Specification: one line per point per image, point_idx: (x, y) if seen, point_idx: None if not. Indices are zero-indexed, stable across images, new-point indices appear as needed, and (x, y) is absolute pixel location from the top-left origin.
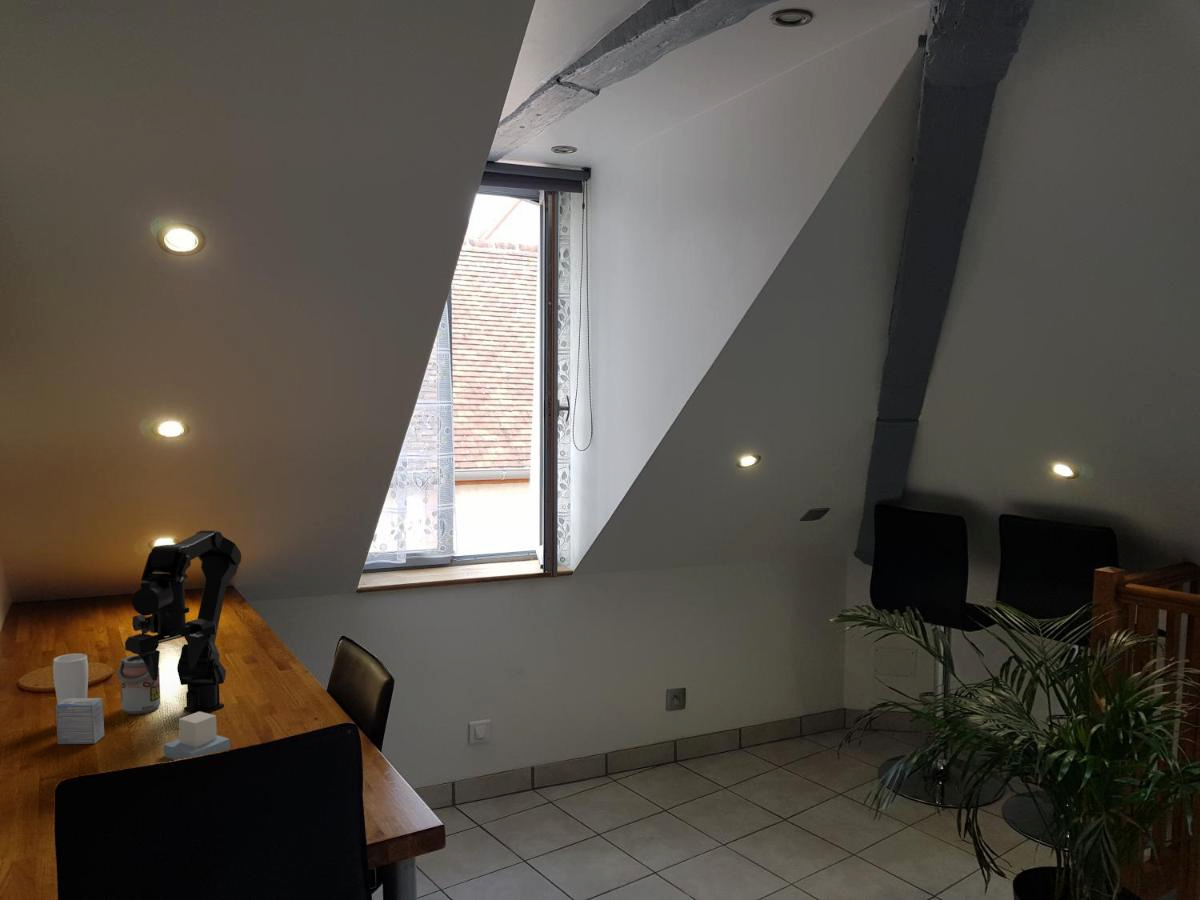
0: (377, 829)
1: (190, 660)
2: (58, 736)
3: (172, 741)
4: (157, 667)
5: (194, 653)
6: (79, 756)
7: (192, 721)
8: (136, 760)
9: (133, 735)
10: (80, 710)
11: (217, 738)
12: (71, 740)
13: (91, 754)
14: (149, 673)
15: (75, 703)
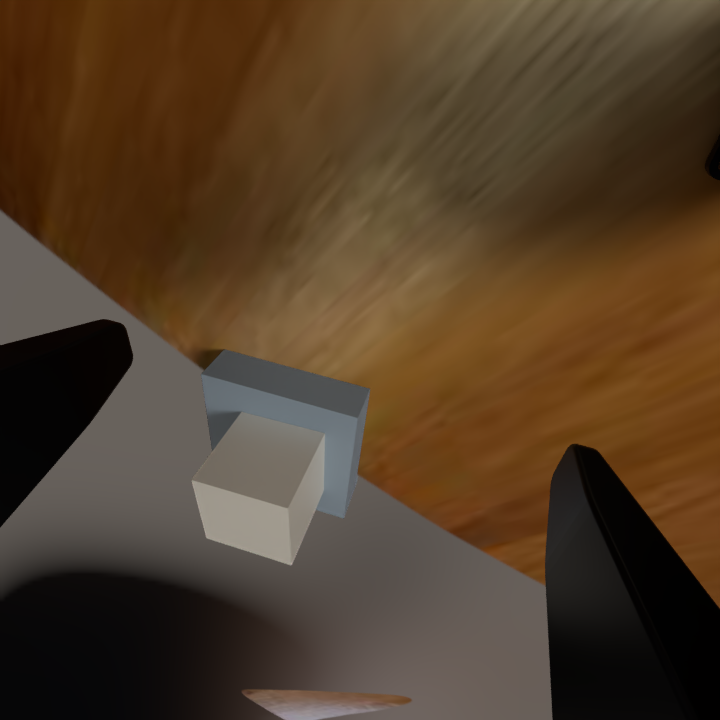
0: (251, 690)
1: (575, 548)
2: None
3: (233, 385)
4: (10, 498)
5: (574, 717)
6: (8, 21)
7: (209, 524)
8: (153, 290)
9: (282, 32)
10: None
11: (328, 491)
12: None
13: (53, 59)
14: (25, 344)
15: None
